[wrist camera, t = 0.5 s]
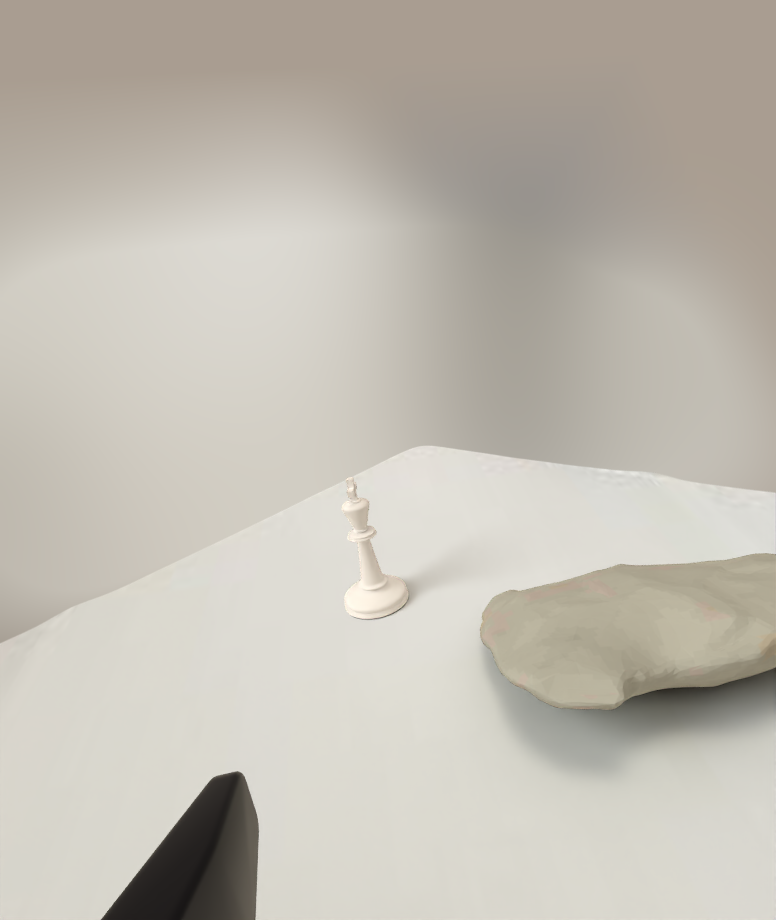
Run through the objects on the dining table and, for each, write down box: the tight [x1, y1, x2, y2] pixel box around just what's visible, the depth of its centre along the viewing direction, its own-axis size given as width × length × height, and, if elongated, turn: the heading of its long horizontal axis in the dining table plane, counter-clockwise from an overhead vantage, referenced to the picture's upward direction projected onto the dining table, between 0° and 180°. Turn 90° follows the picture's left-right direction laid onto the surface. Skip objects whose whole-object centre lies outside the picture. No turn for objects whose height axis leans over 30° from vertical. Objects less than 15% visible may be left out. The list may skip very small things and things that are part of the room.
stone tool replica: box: [480, 553, 776, 710], centre depth 31 cm, size 15×5×25 cm
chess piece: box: [342, 477, 409, 619], centre depth 41 cm, size 5×5×10 cm
